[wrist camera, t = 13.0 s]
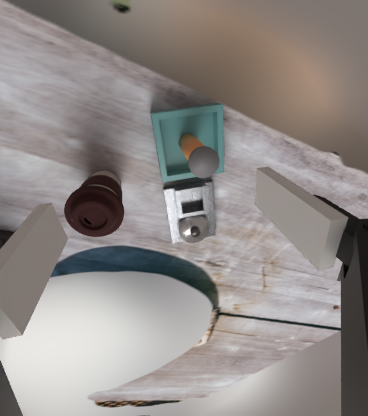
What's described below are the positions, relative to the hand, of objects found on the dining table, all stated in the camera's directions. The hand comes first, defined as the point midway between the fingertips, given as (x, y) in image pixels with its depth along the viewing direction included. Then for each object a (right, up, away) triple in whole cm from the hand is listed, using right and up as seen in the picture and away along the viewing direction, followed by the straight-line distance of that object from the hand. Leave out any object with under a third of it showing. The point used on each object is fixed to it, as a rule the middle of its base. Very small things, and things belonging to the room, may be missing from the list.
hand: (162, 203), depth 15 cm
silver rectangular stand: (+3, -1, +44) cm, 44 cm away
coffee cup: (-17, +5, +37) cm, 41 cm away
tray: (+2, +14, +35) cm, 38 cm away
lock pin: (+2, +14, +34) cm, 37 cm away
